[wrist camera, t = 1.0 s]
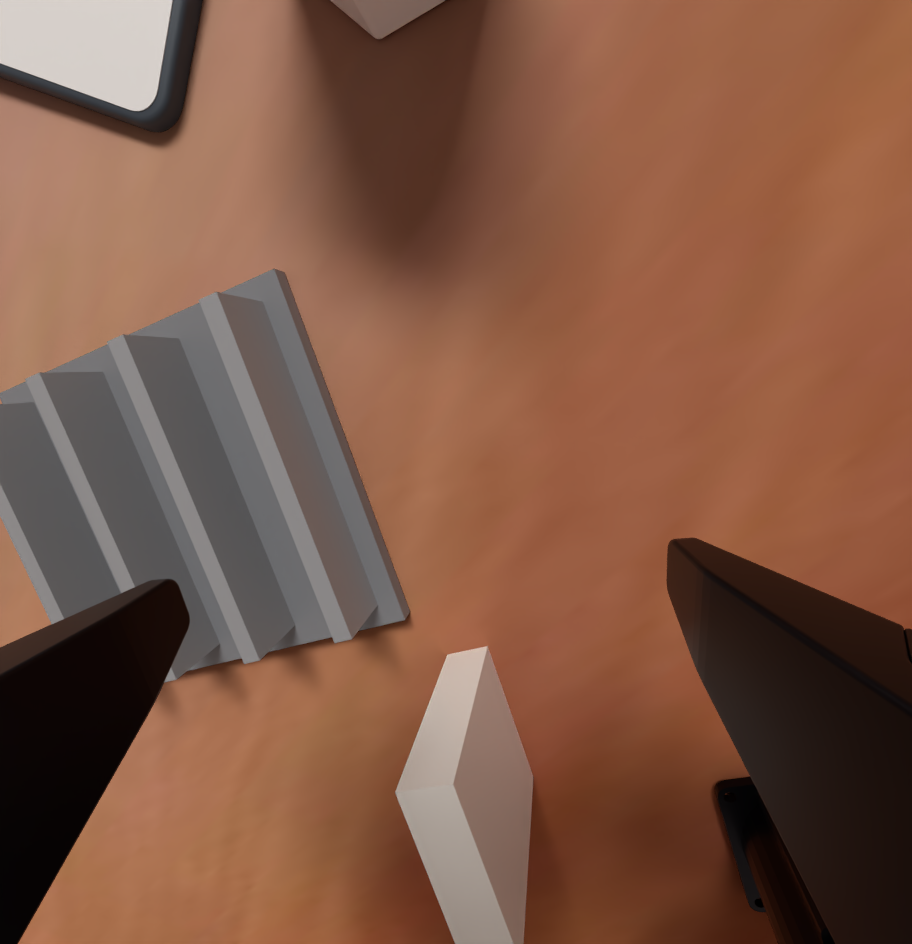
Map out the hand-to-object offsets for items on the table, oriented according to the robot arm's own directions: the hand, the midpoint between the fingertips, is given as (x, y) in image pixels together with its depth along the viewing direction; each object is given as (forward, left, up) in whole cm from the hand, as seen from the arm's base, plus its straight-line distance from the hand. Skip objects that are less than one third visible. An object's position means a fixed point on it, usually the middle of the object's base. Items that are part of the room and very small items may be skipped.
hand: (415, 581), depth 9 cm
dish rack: (+2, +14, -13) cm, 19 cm away
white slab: (-12, +4, -13) cm, 18 cm away
